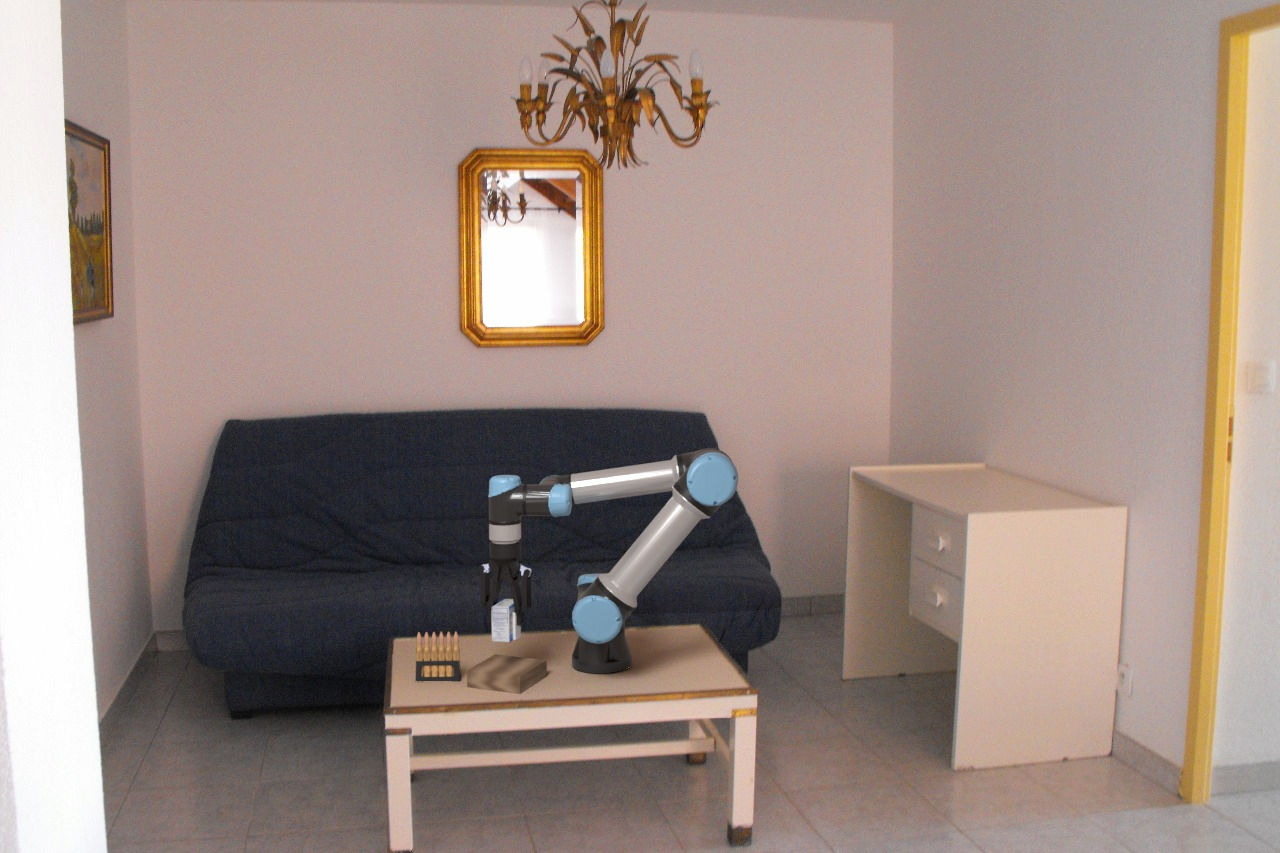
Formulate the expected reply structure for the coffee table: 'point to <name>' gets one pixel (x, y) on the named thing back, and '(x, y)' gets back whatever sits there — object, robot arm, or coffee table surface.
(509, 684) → the walnut base
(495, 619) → the medicine box
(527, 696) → the coffee table surface
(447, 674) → the ammunition clip
